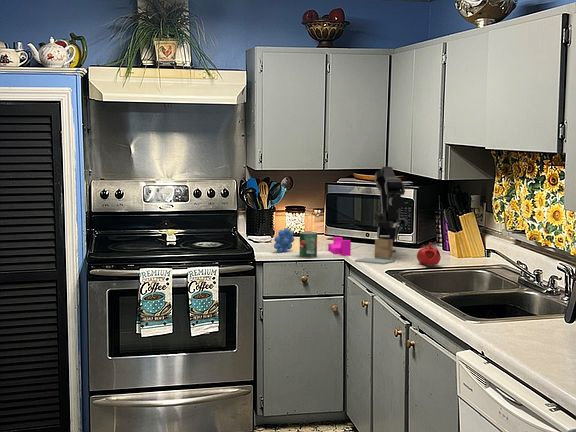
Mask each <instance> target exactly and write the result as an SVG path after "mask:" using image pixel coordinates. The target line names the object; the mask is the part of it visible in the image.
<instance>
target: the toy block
mask: <svg viewBox="0 0 576 432" xmlns="http://www.w3.org/2000/svg"><path fill="white" fill-rule="evenodd" d="M327 247H328V248H327V251H329V252H330V253H332V254H333V255H340V256H342V257H351V255H352V254H351V253H352V251H351V249H352V248H351V247H352V240H350V239H344V238H343V237H342V236H333V242H332V243H328V244H327Z"/></svg>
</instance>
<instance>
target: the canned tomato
mask: <svg viewBox="0 0 576 432" xmlns="http://www.w3.org/2000/svg"><path fill="white" fill-rule="evenodd" d="M298 257H299V258H301V259H303V258H304V259H317V257H318V232H315V231H301V232H299V256H298Z"/></svg>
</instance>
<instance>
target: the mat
mask: <svg viewBox="0 0 576 432" xmlns="http://www.w3.org/2000/svg"><path fill="white" fill-rule="evenodd" d="M354 262H355V263H356V262H358V263H365V264H377V265H378V264H379V265H386V264H391V263H395V260H394V259H392V260H385V259H375V257H374V258H371V257H364V258H359V259H355V260H354Z"/></svg>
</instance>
